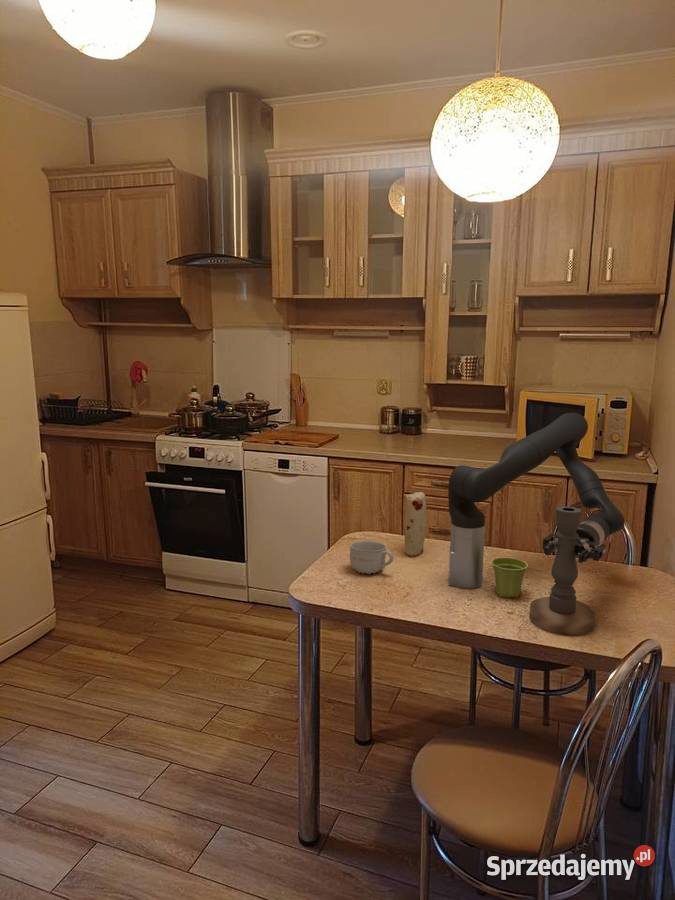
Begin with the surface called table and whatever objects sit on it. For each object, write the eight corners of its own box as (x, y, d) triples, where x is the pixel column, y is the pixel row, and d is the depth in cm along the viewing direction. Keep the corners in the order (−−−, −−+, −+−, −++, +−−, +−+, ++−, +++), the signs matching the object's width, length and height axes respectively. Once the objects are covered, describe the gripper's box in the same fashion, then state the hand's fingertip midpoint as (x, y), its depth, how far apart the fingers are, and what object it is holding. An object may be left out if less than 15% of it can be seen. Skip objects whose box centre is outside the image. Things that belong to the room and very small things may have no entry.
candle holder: (577, 615, 149) (584, 513, 144) (550, 612, 150) (556, 512, 146) (573, 604, 154) (580, 506, 150) (547, 602, 156) (553, 505, 152)
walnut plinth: (534, 633, 146) (535, 621, 146) (525, 606, 161) (525, 595, 160) (601, 637, 144) (602, 625, 144) (586, 609, 159) (587, 598, 158)
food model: (419, 559, 194) (421, 497, 190) (399, 556, 197) (400, 495, 193) (428, 550, 203) (430, 490, 199) (409, 547, 205) (410, 488, 202)
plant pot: (498, 584, 175) (500, 554, 174) (531, 592, 170) (533, 562, 168) (484, 594, 168) (485, 564, 166) (518, 603, 162) (519, 572, 161)
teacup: (342, 569, 185) (342, 544, 184) (367, 561, 193) (368, 536, 191) (375, 583, 175) (376, 556, 174) (401, 573, 182) (402, 547, 181)
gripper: (558, 518, 164) (534, 534, 151) (615, 529, 155) (595, 546, 143) (556, 546, 165) (532, 563, 153) (613, 557, 157) (593, 577, 144)
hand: (563, 555), depth 148 cm, fingers open, 7 cm apart
